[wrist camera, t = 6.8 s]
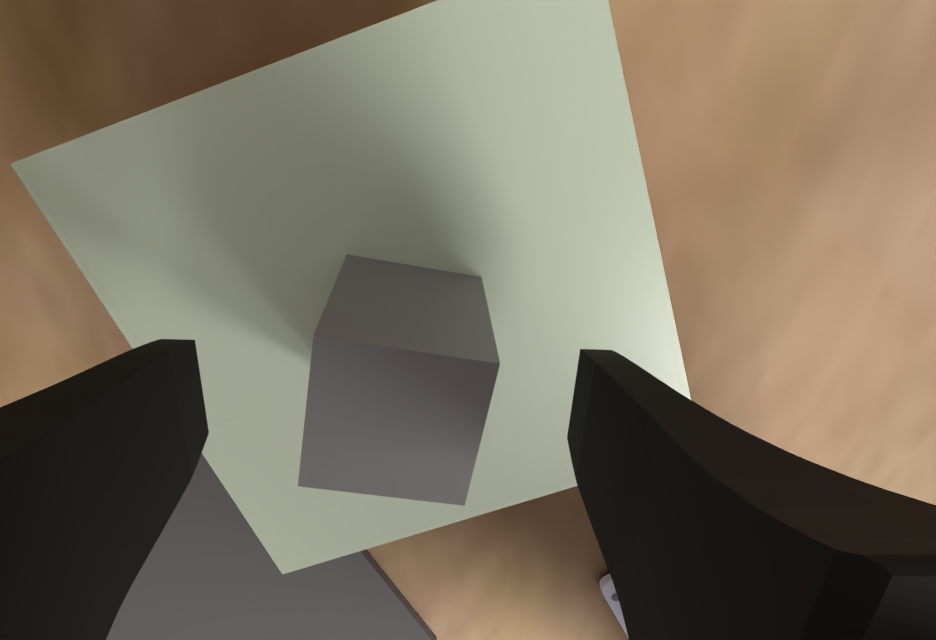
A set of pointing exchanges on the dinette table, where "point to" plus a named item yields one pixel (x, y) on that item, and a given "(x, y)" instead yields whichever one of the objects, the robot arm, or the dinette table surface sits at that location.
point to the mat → (252, 584)
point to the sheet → (388, 185)
